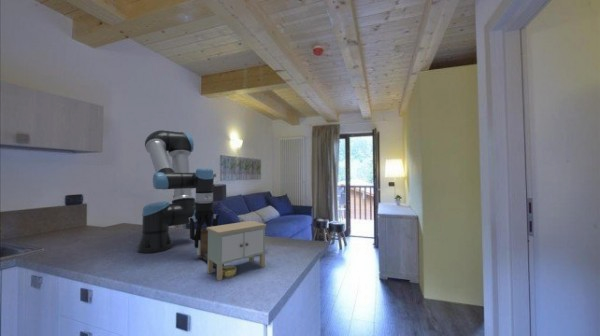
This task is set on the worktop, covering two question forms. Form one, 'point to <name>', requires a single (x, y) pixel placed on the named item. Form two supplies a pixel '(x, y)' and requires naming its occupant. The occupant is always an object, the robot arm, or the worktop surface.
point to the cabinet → (235, 244)
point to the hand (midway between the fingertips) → (203, 253)
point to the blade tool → (204, 245)
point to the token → (229, 271)
